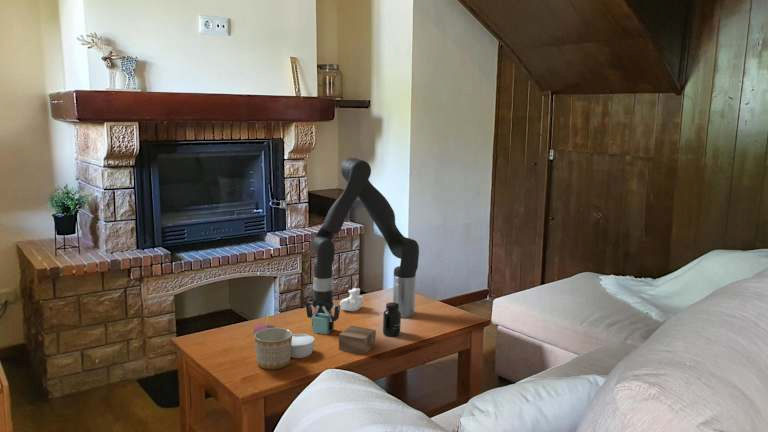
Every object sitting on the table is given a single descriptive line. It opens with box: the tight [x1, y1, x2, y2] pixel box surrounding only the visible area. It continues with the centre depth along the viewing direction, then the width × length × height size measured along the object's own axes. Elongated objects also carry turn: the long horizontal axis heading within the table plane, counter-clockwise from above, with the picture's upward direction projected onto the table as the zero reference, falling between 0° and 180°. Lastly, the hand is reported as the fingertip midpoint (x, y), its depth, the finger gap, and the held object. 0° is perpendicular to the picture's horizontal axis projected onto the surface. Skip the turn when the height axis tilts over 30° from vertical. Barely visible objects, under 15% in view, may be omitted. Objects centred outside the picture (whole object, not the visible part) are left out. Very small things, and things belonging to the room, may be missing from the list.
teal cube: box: [312, 313, 334, 335], centre depth 236 cm, size 6×6×6 cm
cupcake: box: [252, 312, 276, 336], centre depth 222 cm, size 9×8×12 cm
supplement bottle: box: [382, 301, 402, 337], centre depth 234 cm, size 7×7×12 cm
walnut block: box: [338, 325, 377, 355], centre depth 221 cm, size 10×10×6 cm
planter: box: [253, 327, 293, 370], centre depth 205 cm, size 13×13×10 cm
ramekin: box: [290, 333, 316, 359], centre depth 214 cm, size 11×11×5 cm
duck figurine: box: [339, 287, 365, 312], centre depth 260 cm, size 12×8×11 cm
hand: (322, 329), depth 236 cm, fingers closed on teal cube, 6 cm apart
